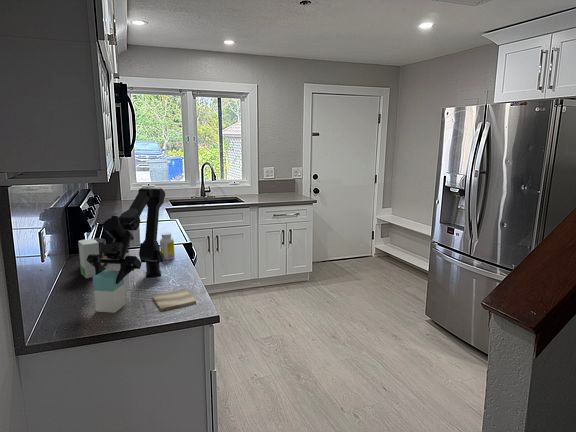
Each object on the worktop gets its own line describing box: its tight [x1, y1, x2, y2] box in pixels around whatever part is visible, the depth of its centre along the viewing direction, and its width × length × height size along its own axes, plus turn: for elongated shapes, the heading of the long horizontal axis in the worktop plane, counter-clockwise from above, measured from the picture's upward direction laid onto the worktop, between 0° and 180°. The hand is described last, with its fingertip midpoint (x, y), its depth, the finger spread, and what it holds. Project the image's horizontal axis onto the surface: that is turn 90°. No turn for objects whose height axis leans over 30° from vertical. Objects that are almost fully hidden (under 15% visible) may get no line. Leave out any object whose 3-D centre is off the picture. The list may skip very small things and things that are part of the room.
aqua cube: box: [92, 269, 125, 292], centre depth 139 cm, size 7×7×6 cm
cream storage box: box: [93, 283, 127, 313], centre depth 141 cm, size 7×7×8 cm
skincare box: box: [77, 238, 99, 279], centre depth 173 cm, size 8×7×16 cm
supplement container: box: [93, 237, 107, 266], centre depth 186 cm, size 10×10×12 cm
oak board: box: [152, 288, 197, 312], centre depth 147 cm, size 13×13×1 cm
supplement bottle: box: [159, 232, 176, 261], centre depth 196 cm, size 7×7×13 cm
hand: (106, 283), depth 138 cm, fingers closed on aqua cube, 7 cm apart
